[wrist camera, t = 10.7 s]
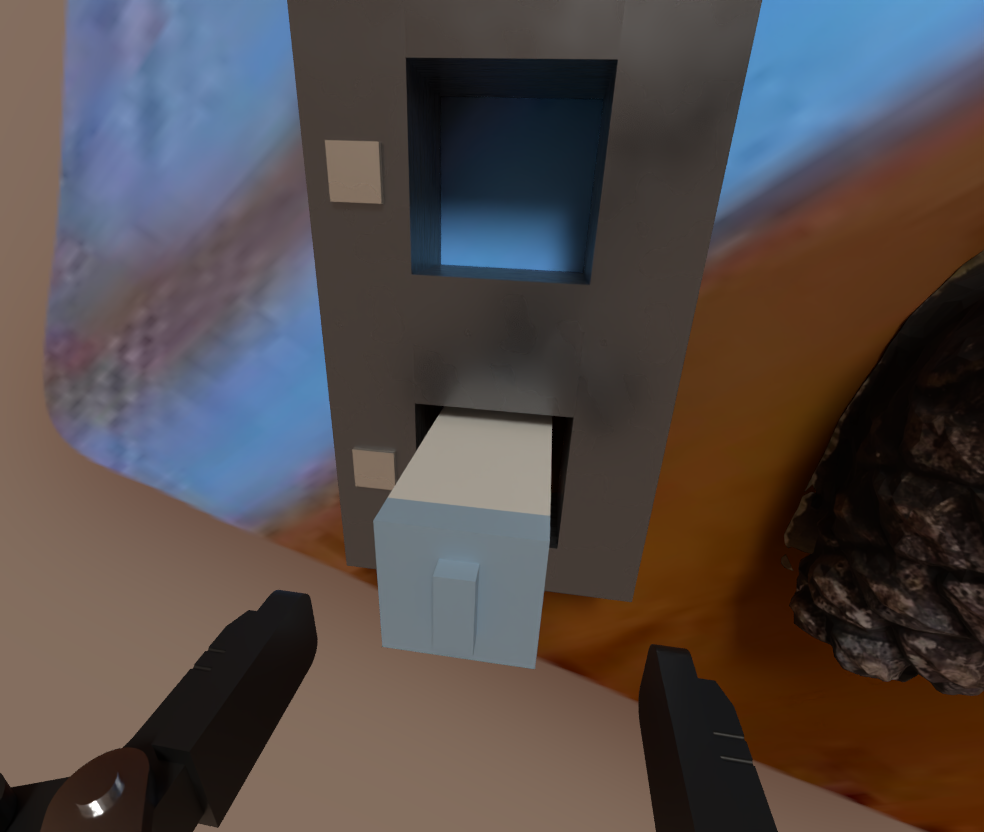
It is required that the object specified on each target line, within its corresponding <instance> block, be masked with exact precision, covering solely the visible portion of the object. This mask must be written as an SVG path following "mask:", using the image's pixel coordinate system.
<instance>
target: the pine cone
mask: <svg viewBox="0 0 984 832" xmlns="http://www.w3.org/2000/svg"><path fill="white" fill-rule="evenodd" d="M812 484H813V487H814V489H816V493H814V492H810V493H808V494H806V495H804V496H803V497H802V499H801V502H800V504H799V507H798V509H797V511H796V512H795V514H794V516H793V518H792V520H791V522H790V524H789V526H788V528H787V530H786V532H785V534H784V539H785V545H786V546H787V547H788V548H789V547H791V546H792V547H794V548H796V549H799V550H801V551H803V552H807V553H811V554H810V555H808V556H807V557H805V558H803V559H801V561H800V564H799V576H798V578H797V586H796V592H795V594H794V596H793V597H792V599H791V602H790V605H789V606H790V607H791V609H792V610H793V611H794V624H796V625H797V626H798V627H799V628H801V629H802V630H804V631H805V632H807V633H808V634H810V635H811V636H813V637H815V638H817V639H819V640H820V641H823V642H825V643H828V644H830V645H831V646H832V647H833V652H834V657H835V658H836V659H837V661H838V662H839V664H840V665H841V667H842V668H843V669H845V670H848V671H850V672H853V673H855V674H859V675H860V676H864V677H871V678H878V679H880V680H882V681H887V682H888V681H891V680H893V679H894V680H897V681H901V682H906V681H908V680H910V679H912V678H913V677H915V676H917V675H918V674H919V675H921V676H922V677H924V678H925V679H927V680H928V681H930V682H931V683H932V685H933V686H934V687H935V689H936V690H938V691H939V692H941V693H943V694H950V695H956V694H962V695H970V696H973V695H979V694H980V693H981V692H983V691H984V251H982V252H981V253H979V254H978V255H976V256H975V257H974V258H972V259H971V260H969V261H968V262H967V263H965V264H964V265H963V266H962V267H961V268H960V269H959V270H958V271H957V272H956V273H955V274H954V275H953V276H952V277H951V278H950V279H949V280H947V281H946V282H945V283H944V284H943V285H942V286H941V287H940V288H939V289H938V290H937V291H936V292H935V293H933V294H932V295H931V296H930V297H929V298H928V299H927V300H926V301H925V302H924V303H923V304H922V305H921V306H920V307H919V308H918V309H917V310H916V311H915V312H914V313H913V314H912V315H911V316H910V317H909V318H908V320H907V321H906V323H905V324H904V326H903V327H902V329H901V330H900V332H899V333H898V334H897V336H896V337H895V338H894V340H893V341H892V342H891V344H890V345H889V347H888V348H887V350H886V352H885V354H884V356H883V357H882V359H881V361H880V362H879V364H878V365H877V366H876V368H875V369H874V370H873V372H872V373H871V374H870V376H869V377H868V378H867V380H866V381H865V382H864V384H863V385H862V387H861V388H860V390H859V391H858V393H857V394H856V396H855V397H854V399H853V400H852V402H851V403H850V405H849V406H848V408H847V409H846V411H845V412H844V414H843V415H842V417H841V418H840V420H839V422H838V424H837V426H836V429H835V431H834V433H833V435H832V438H831V440H830V442H829V444H828V447H827V449H826V451H825V453H824V455H823V457H822V459H821V461H820V463H819V465H818V466H817V468H816V470H815V472H814V474H813V476H812V478H811V480H810V482H809V484H808V486H807V488H806V489H805V491H806V490H807V489H808V488H809V487H810V486H811V485H812ZM805 491H804V492H805ZM781 564H782V565H783V566H784V568H787V569H790V570H792V567H791V564H790V562H789V560H788V558H787V556H786V554H785V555H784V556H783V557H782V558H781Z"/></svg>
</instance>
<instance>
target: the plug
mask: <svg viewBox="0 0 984 832" xmlns="http://www.w3.org/2000/svg"><path fill="white" fill-rule="evenodd" d="M551 454H552V416H550V415H539V414H528V413H517V412H506V411H494V410H483V409H472V408H461V407H449V406H444V407H443V409H442V410H441V412H440V414H439V415H438V417H437V419H436V420H435V422H434V423H433V425H432V427H431V428H430V430H429V431H428V433H427V435H426V436H425V438H424V440H423V441H422V443H421V444H420V446H419V448H418V449H417V451H416V452H415V454H414V456H413V457H412V459H411V461H410V462H409V464H408V465H407V467H406V469H405V470H404V472H403V473H402V475H401V477H400V478H399V480H398V481H397V483H396V485H395V486H394V488H393V490H392V491H391V493H390V494H389V496H388V498H387V499H386V501H385V502H384V504H383V506H382V507H381V509H380V511H379V512H378V514H377V515H376V517H375V519H374V520H373V523H374V537H375V551H376V565H377V579H378V593H379V606H380V620H381V634H382V647H388V648H394V649H395V648H396V649H401V650H408V651H415V652H422V653H428V654H435V655H442V656H449V657H456V658H462V659H469V660H476V661H482V662H489V663H496V664H503V665H509V666H516V667H523V668H530V669H535V664H536V656H537V647H538V639H539V630H540V621H541V613H542V604H543V595H544V587H545V578H546V570H547V561H548V552H549V544H550V504H551Z"/></svg>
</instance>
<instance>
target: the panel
mask: <svg viewBox="0 0 984 832" xmlns="http://www.w3.org/2000/svg"><path fill="white" fill-rule="evenodd" d="M287 3H288V13H289V22H290V32H291V41H292V51H293V60H294V69H295V79H296V88H297V98H298V107H299V117H300V126H301V136H302V145H303V155H304V164H305V174H306V183H307V192H308V202H309V211H310V221H311V230H312V240H313V249H314V259H315V268H316V278H317V287H318V297H319V306H320V315H321V325H322V334H323V344H324V353H325V363H326V372H327V382H328V391H329V401H330V410H331V420H332V429H333V438H334V448H335V457H336V467H337V476H338V486H339V495H340V505H341V514H342V524H343V533H344V543H345V552H346V561H347V565H348V566H356V567H364V568H372V569H377V565H376V551H375V537H374V523H373V520H374V519H375V517H376V515H377V514H378V512H379V511H380V509H381V507H382V506H383V504H384V502H385V501H386V499H387V498H388V496H389V494H390V493H391V491H392V490H393V488H394V486H395V485H396V483H397V481H398V480H399V478H400V477H401V475H402V473H403V472H404V470H405V469H406V467H407V465H408V464H409V462H410V461H411V459H412V457H413V456H414V454H415V452H416V451H417V449H418V448H419V446H420V444H421V443H422V441H423V440H424V438H425V436H426V435H427V433H428V431H429V430H430V428H431V427H432V425H433V423H434V422H435V420H436V419H437V417H438V415H439V414H440V412H441V406H449V407H461V408H472V409H483V410H494V411H506V412H517V413H528V414H539V415H550V416H562V417H566V422H565V430H564V439H563V448H562V456H561V465H560V473H559V482H558V490H557V493H551V504H550V544H549V552H548V561H547V570H546V578H545V587H544V591H550V592H558V593H565V594H573V595H581V596H589V597H596V598H604V599H612V600H620V601H627V602H632V598H633V594H634V589H635V585H636V580H637V575H638V571H639V566H640V562H641V557H642V552H643V548H644V543H645V539H646V534H647V529H648V525H649V520H650V515H651V511H652V506H653V502H654V497H655V492H656V488H657V483H658V479H659V474H660V469H661V465H662V460H663V455H664V451H665V446H666V442H667V437H668V432H669V428H670V423H671V419H672V414H673V409H674V405H675V400H676V396H677V391H678V386H679V382H680V377H681V372H682V368H683V363H684V359H685V354H686V349H687V345H688V340H689V336H690V331H691V326H692V322H693V317H694V312H695V308H696V303H697V299H698V294H699V289H700V285H701V280H702V276H703V271H704V266H705V262H706V257H707V252H708V248H709V243H710V239H711V234H712V229H713V225H714V220H715V216H716V211H717V206H718V202H719V197H720V193H721V188H722V183H723V179H724V174H725V169H726V165H727V160H728V156H729V151H730V146H731V142H732V137H733V133H734V128H735V123H736V119H737V114H738V109H739V105H740V100H741V96H742V91H743V86H744V82H745V77H746V73H747V68H748V63H749V59H750V54H751V49H752V45H753V40H754V36H755V31H756V26H757V22H758V17H759V13H760V8H761V3H762V0H287ZM440 97H495V98H551V99H603V105H602V113H601V122H600V130H599V139H598V147H597V156H596V165H595V173H594V182H593V190H592V199H591V208H590V216H589V225H588V233H587V242H586V250H585V259H584V268H583V273H579V272H561V271H543V270H526V269H508V268H490V267H473V266H455V265H441V121H440Z"/></svg>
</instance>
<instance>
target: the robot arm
mask: <svg viewBox="0 0 984 832" xmlns="http://www.w3.org/2000/svg"><path fill="white" fill-rule="evenodd" d="M316 649H317V633H316V627H315V621H314V615H313V609H312V604H311V599H310V596H309V595H308V594H304V593H297V592H290V591H283V590H276V591H274V592H273V593H272V594H271V595H270V596H269V597H268V598H267V599H266V601H265V602H264V603H263V604H262V606H261V607H260V608H259V609H258V611H251V610H248V611H247V612H245V613H244V614H243V615H241V616H240V617H238V618H237V619H236V620H234V621H233V622H232V623H230V624H229V625H227V626H226V627H225V628H224V630H223V631H222V632H221V633H220V634H219V636H218V637H217V638H216V639H215V641H213V643H212V644H211V645H210V646H209V649H208V651H205V652H204V653H203V655H202V656H201V657H200V658H199V659H198V661H197V662H196V663H195V665H194V668H193V669H190V670H189V671H188V672H187V674H186V675H185V676H184V677H183V678H182V680H181V681H180V682H179V683H178V684H177V686H176V687H175V688H174V689H173V690H172V692H171V693H170V694H169V695H168V696H167V698H166V699H165V700H164V701H163V702H162V703H161V705H160V706H159V707H158V708H157V709H156V711H155V712H154V713H153V714H152V715H151V717H150V718H149V719H148V720H147V721H146V723H145V724H144V725H143V726H142V727H141V728H140V730H139V731H138V732H137V733H136V734H135V736H134V737H133V738H132V739H131V740H130V741H129V742H128V743H127V744H126V745H125V746H124V747H123V748H119V749H115V750H112V751H109V752H106V753H104V754H102V755H100V756H98V757H96V758H94V759H93V760H91V761H89V762H88V763H86V764H85V765H83V766H82V767H81V768H80V769H78V770H77V771H76V772H75V773H74V774H73V775H71V776H70V777H66V778H61V779H55V780H50V781H45V782H39V783H34V784H28V785H22V786H17V787H10V786H9V784H8V783H7V781H6V780H5V778H4V777H3V775H2V774H1V773H0V832H193V831H194V829H195V827H196V826H197V824H198V823H199V824H204V825H208V826H213V827H217V828H218V827H219V826H220V824H221V822H222V820H223V819H224V817H225V815H226V813H227V812H228V810H229V808H230V806H231V805H232V803H233V801H234V799H235V798H236V796H237V794H238V792H239V791H240V789H241V787H242V785H243V784H244V782H245V780H246V779H247V777H248V775H249V773H250V771H251V770H252V768H253V766H254V765H255V763H256V761H257V759H258V758H259V756H260V754H261V752H262V751H263V749H264V747H265V745H266V744H267V742H268V740H269V738H270V737H271V735H272V733H273V731H274V730H275V728H276V726H277V724H278V723H279V721H280V719H281V717H282V715H283V714H284V712H285V710H286V708H287V707H288V705H289V703H290V702H291V700H292V698H293V696H294V695H295V693H296V691H297V689H298V687H299V686H300V684H301V682H302V681H303V679H304V677H305V675H306V674H307V672H308V670H309V668H310V667H311V665H312V662H313V660H314V657H315V654H316ZM639 720H640V728H641V735H642V741H643V748H644V754H645V760H646V768H647V774H648V781H649V788H650V794H651V801H652V808H653V814H654V821H655V828H656V832H778V831H777V828H776V825H775V823H774V820H773V817H772V814H771V811H770V808H769V805H768V802H767V799H766V797H765V794H764V791H763V788H762V785H761V783H760V780H759V777H758V774H757V771H756V768H755V766H753V763H752V760H753V759H752V757H751V754H750V751H749V748H748V745H747V742H746V741H745V740H744V734H743V731H742V728H741V725H740V722H739V720H738V717H737V714H736V711H735V708H734V706H733V705H732V703H731V702H730V701H729V699H728V698H727V696H726V695H725V694H724V692H723V691H722V690H721V688H720V687H719V686H718V684H717V683H716V681H712V680H706V679H699V678H697V674H696V671H695V667H694V664H693V661H692V657H691V655H690V652H689V651H688V650H687V649H683V648H676V647H669V646H662V645H655V644H651V646H650V648H649V651H648V656H647V660H646V664H645V669H644V673H643V677H642V681H641V686H640V690H639Z"/></svg>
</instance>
